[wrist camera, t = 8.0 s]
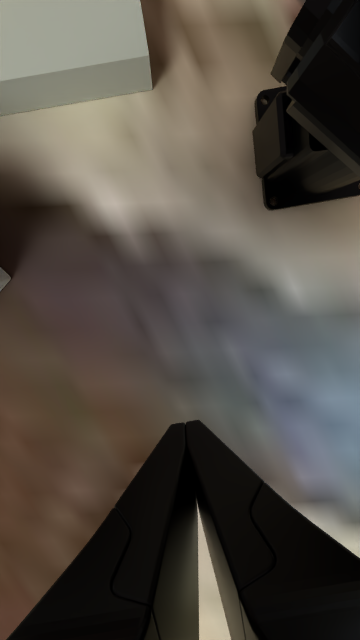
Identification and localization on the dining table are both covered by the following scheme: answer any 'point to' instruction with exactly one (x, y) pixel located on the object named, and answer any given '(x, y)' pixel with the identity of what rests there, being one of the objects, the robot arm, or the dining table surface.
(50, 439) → the dining table surface
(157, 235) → the dining table surface
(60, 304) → the dining table surface
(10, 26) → the board
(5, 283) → the light bulb box
